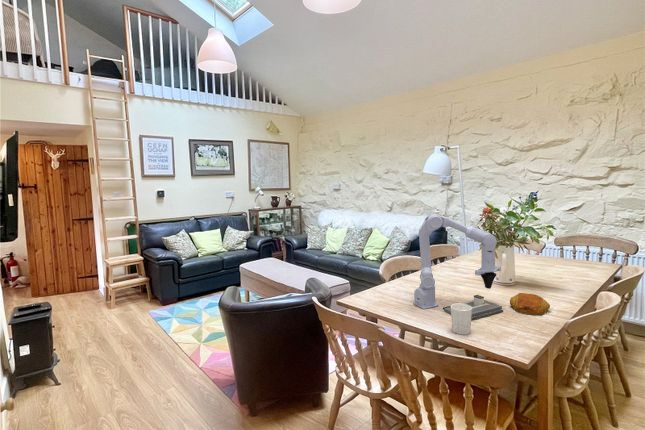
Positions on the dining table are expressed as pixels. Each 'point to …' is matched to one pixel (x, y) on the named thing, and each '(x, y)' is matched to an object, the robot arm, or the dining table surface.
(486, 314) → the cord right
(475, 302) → the grey and beige block
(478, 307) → the breaker panel
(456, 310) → the white cup
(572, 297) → the dining table surface
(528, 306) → the croissant
